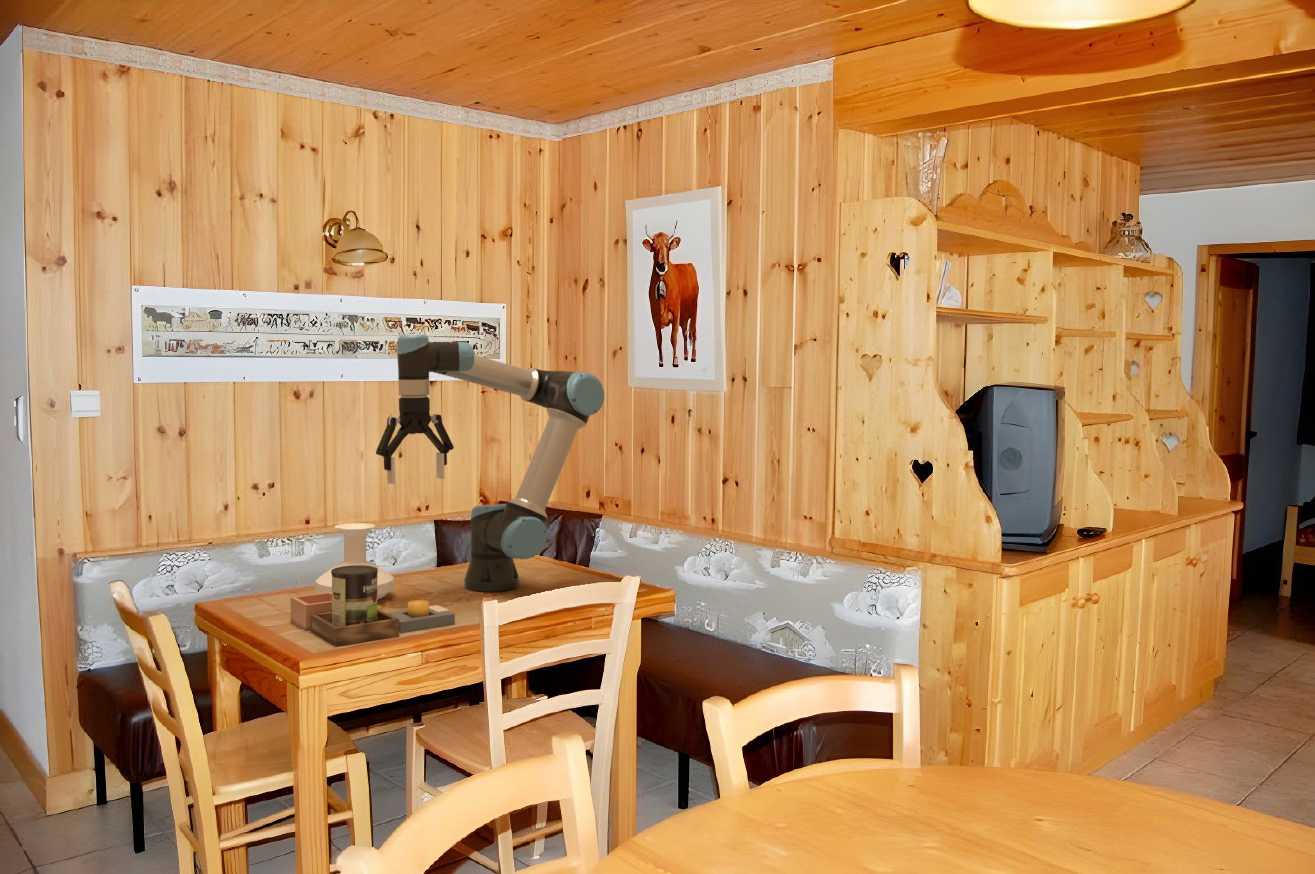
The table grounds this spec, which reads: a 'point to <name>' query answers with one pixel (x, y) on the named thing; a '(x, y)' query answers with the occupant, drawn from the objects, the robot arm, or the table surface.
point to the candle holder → (356, 559)
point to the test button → (418, 608)
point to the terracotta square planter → (309, 608)
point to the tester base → (424, 619)
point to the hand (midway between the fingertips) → (416, 481)
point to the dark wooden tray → (354, 629)
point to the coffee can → (354, 595)
